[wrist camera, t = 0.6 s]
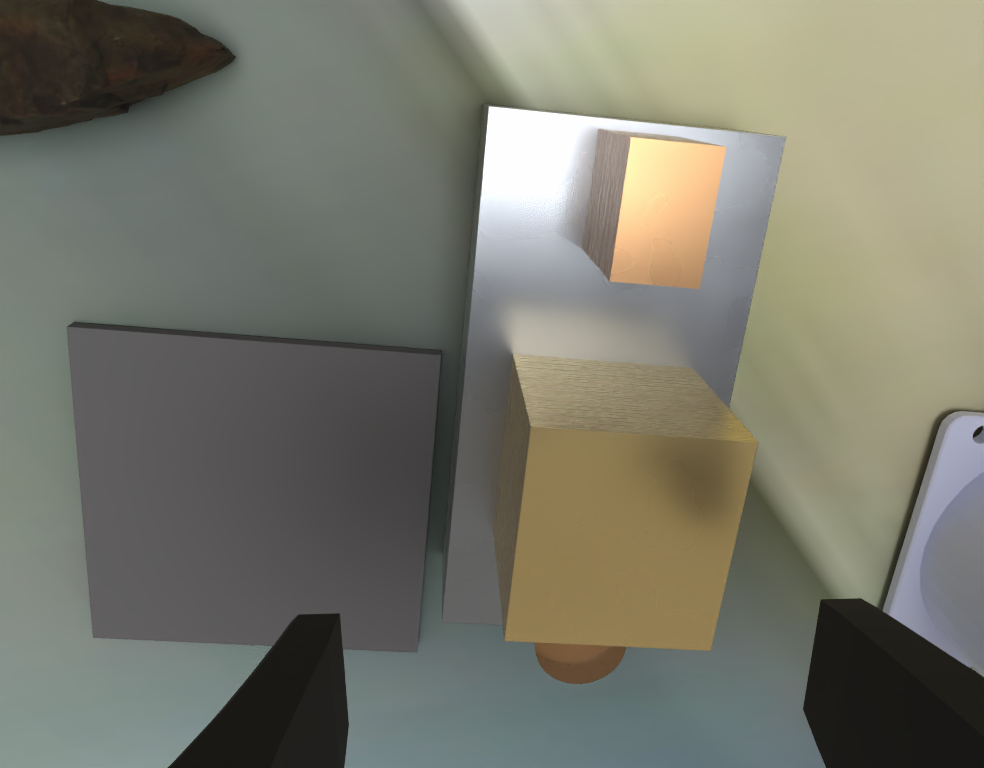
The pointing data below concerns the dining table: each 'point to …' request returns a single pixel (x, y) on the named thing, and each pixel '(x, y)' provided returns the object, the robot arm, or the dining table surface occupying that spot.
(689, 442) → the tan cube
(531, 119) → the body
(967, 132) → the dining table surface
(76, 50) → the hand tool
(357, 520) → the mat
